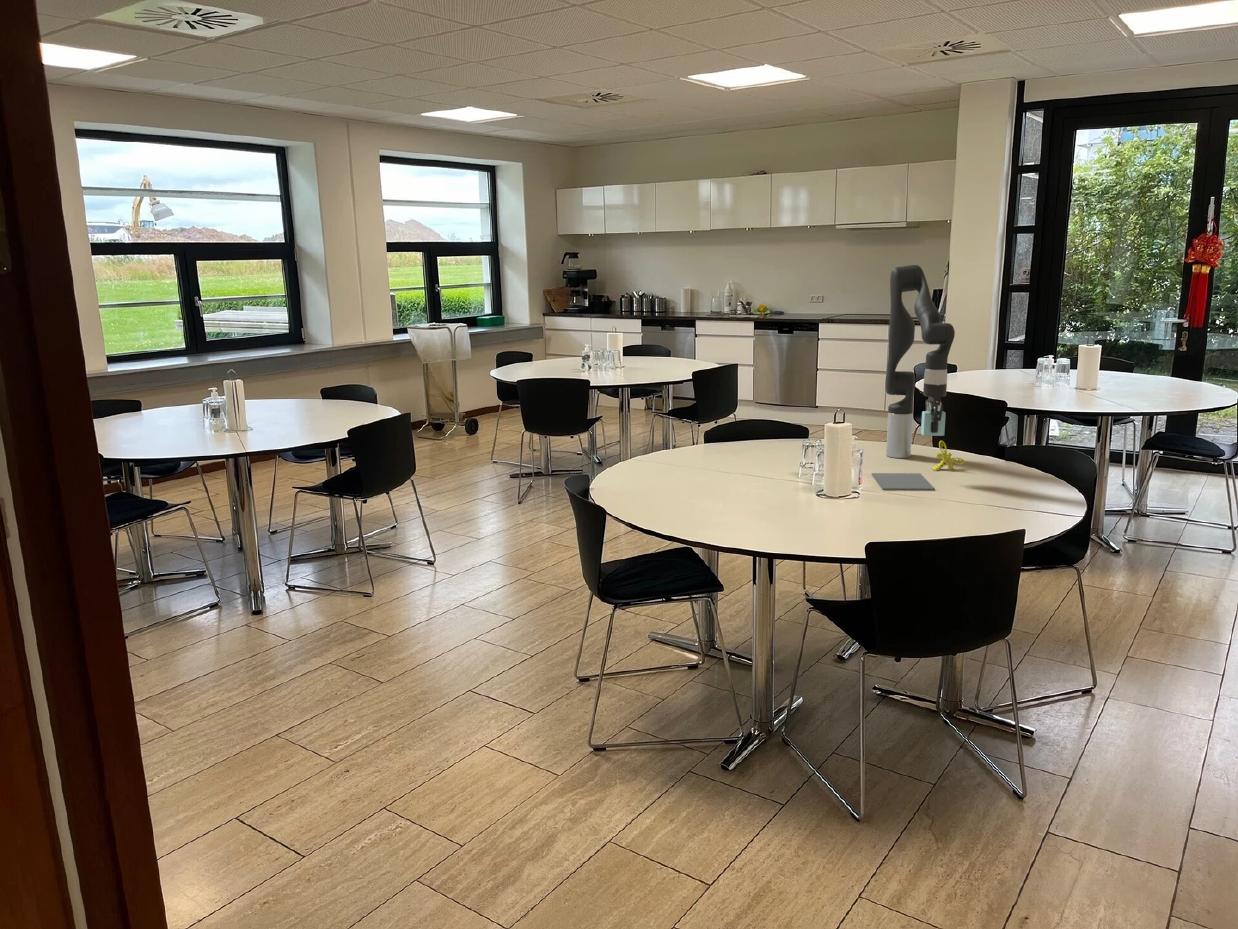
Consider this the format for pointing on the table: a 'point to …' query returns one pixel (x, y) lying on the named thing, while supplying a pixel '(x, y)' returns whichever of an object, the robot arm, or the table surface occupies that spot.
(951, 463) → the decorative insect
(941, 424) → the pale blue block
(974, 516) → the table surface
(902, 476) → the mat
